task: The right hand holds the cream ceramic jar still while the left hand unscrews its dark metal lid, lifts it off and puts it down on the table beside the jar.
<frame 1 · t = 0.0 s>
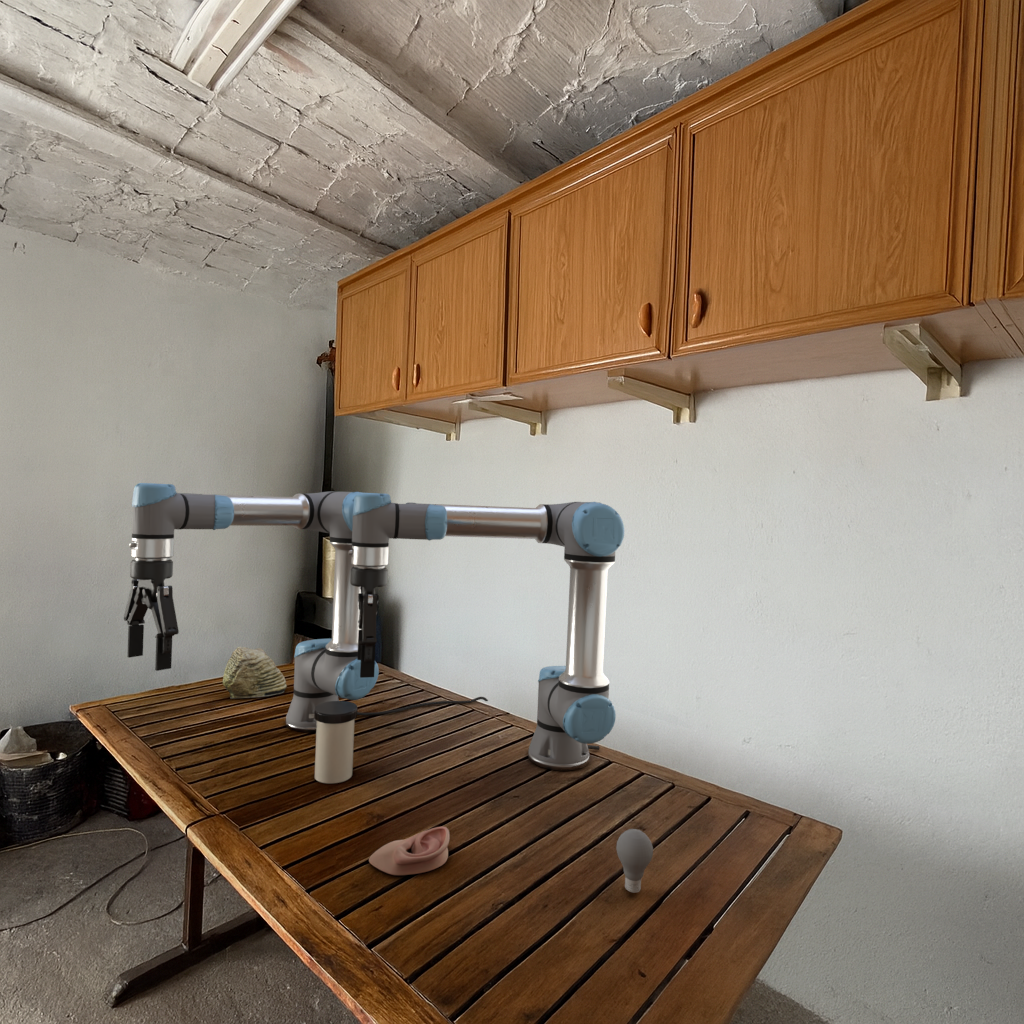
left hand: (148, 662, 129), 28 cm above the table, tool pointing down, fingers open, 13 cm apart
right hand: (365, 668, 132), 28 cm above the table, tool pointing down, fingers open, 13 cm apart
light bulb: (632, 891, 106), on the table
fossil: (254, 694, 198), on the table
jar: (333, 775, 144), on the table
lid: (336, 708, 144), point 15 cm above the table, screwed on, not yet turned
anatomical model: (409, 858, 112), on the table
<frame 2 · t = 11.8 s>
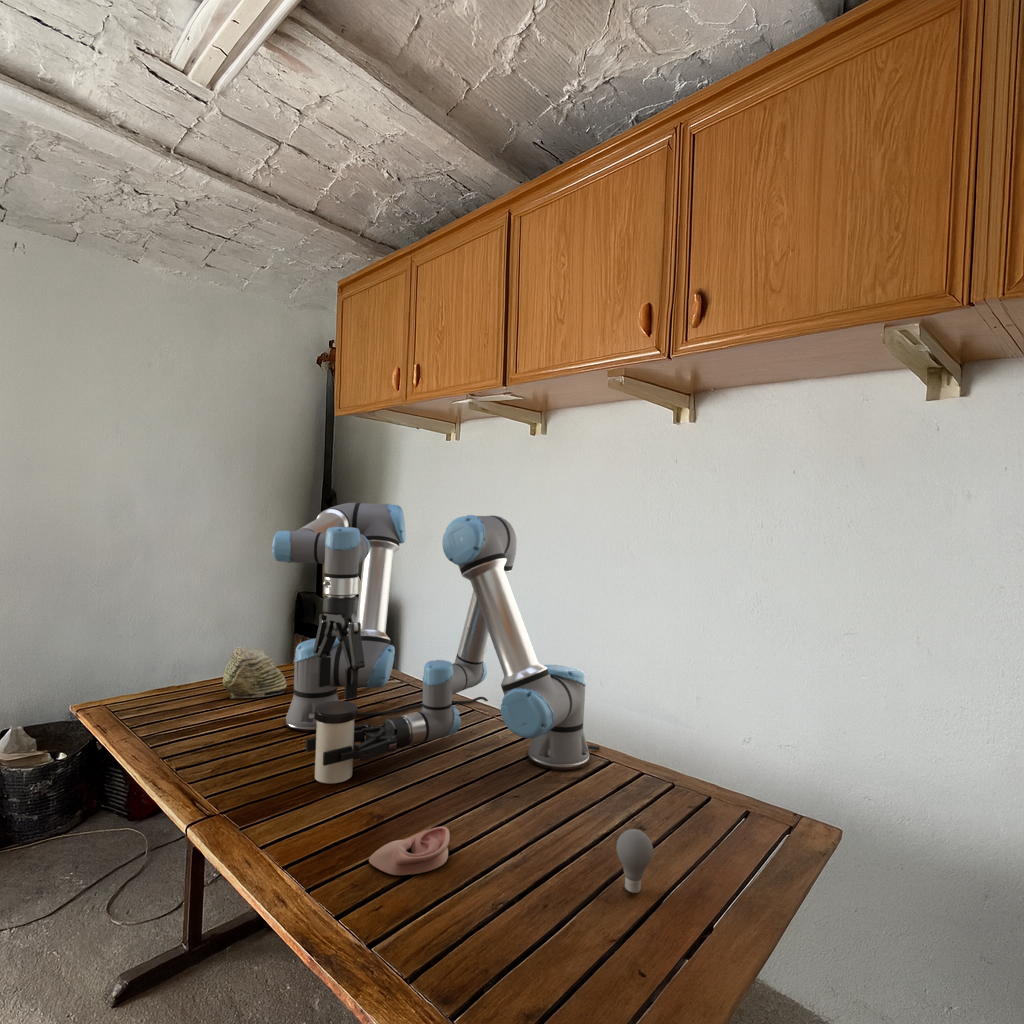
left hand: (336, 691, 144), 19 cm above the table, tool pointing down, fingers open, 11 cm apart
right hand: (315, 752, 141), 6 cm above the table, tool horizontal, fingers closed on jar, 8 cm apart
jar: (333, 775, 144), on the table, touching right hand
everything else where it was.
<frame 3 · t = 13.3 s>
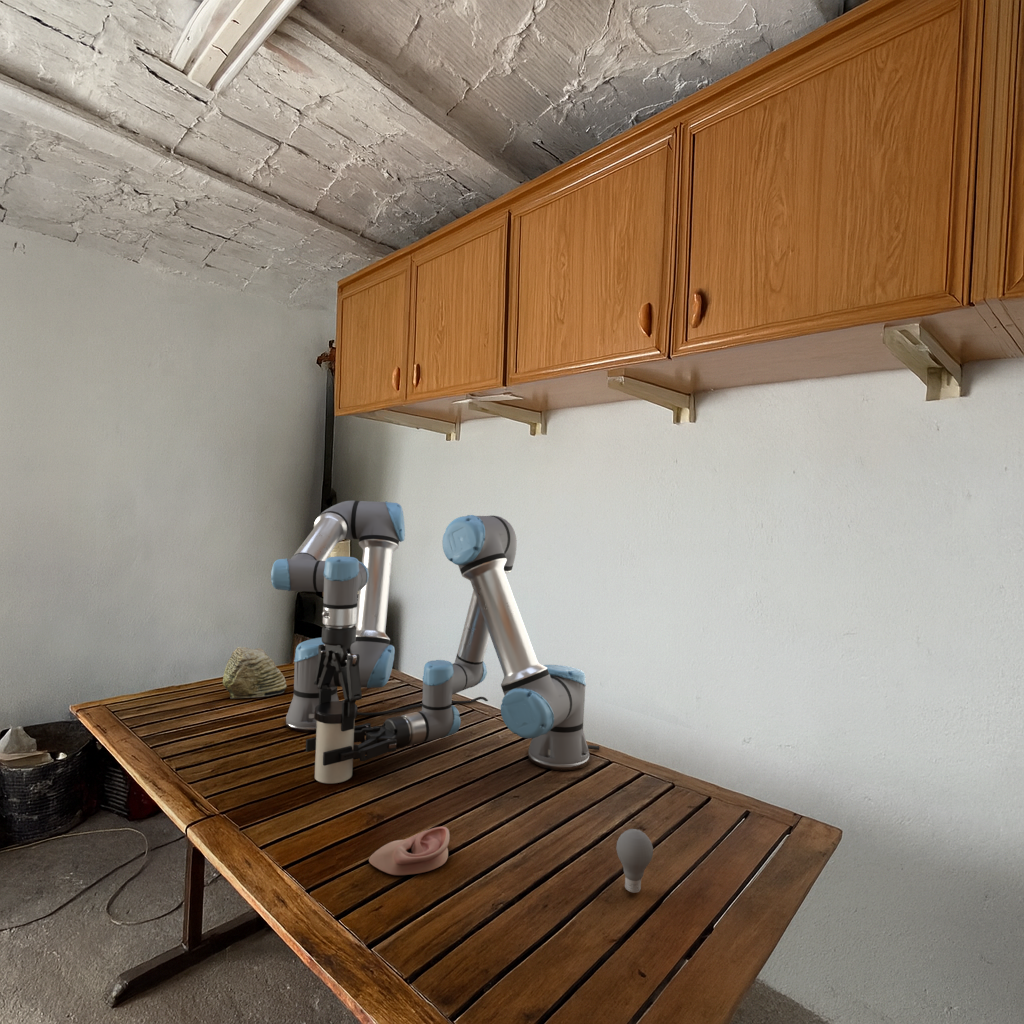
left hand: (335, 723, 144), 12 cm above the table, tool pointing down, fingers closed on lid, 9 cm apart
right hand: (315, 752, 141), 6 cm above the table, tool horizontal, fingers closed on jar, 8 cm apart
jar: (333, 775, 144), on the table, touching right hand
lid: (336, 708, 144), point 15 cm above the table, screwed on, not yet turned, touching left hand
everything else where it was.
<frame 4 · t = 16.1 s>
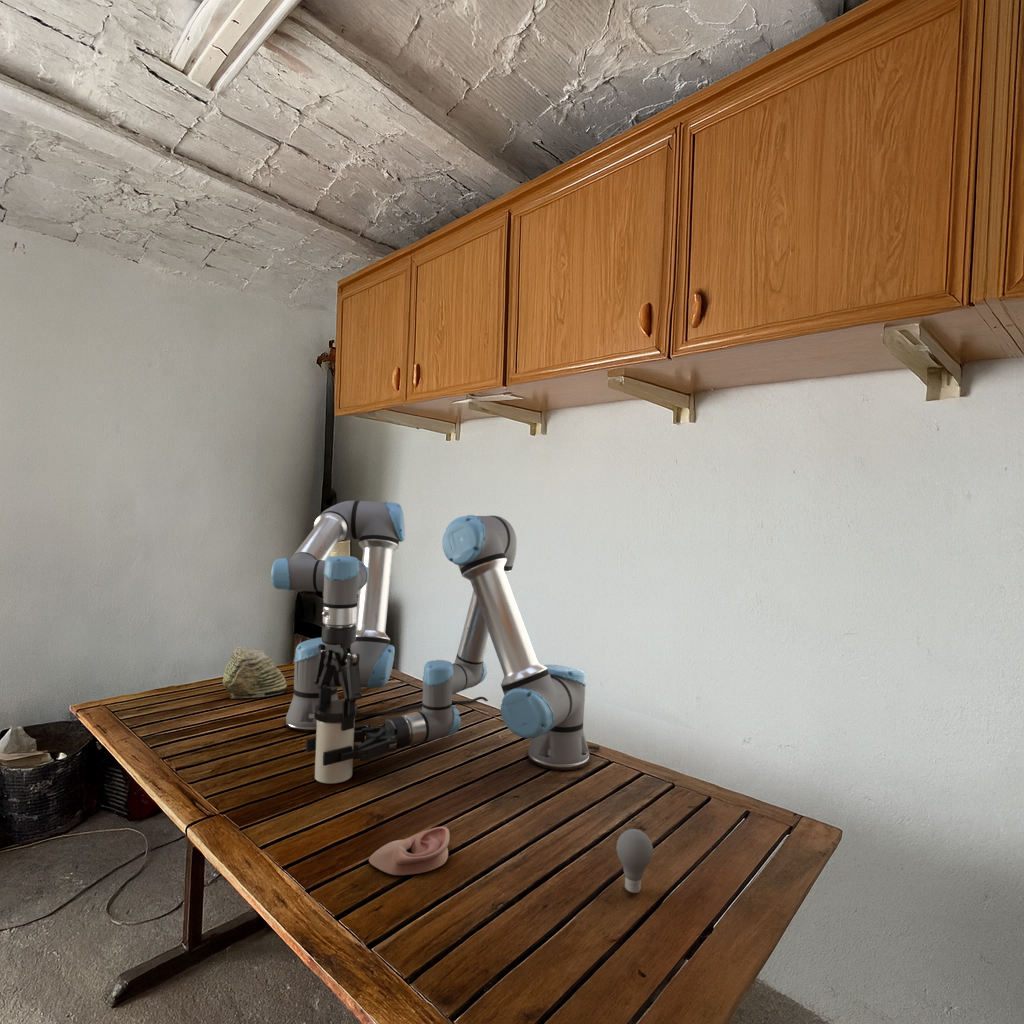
left hand: (335, 722, 144), 12 cm above the table, tool pointing down, fingers closed on lid, 9 cm apart
right hand: (315, 752, 141), 6 cm above the table, tool horizontal, fingers closed on jar, 8 cm apart
jar: (333, 775, 144), on the table, touching right hand
lid: (336, 708, 144), point 15 cm above the table, turned 64° so far, risen 0.2 cm, still on its thread, touching left hand
everything else where it was.
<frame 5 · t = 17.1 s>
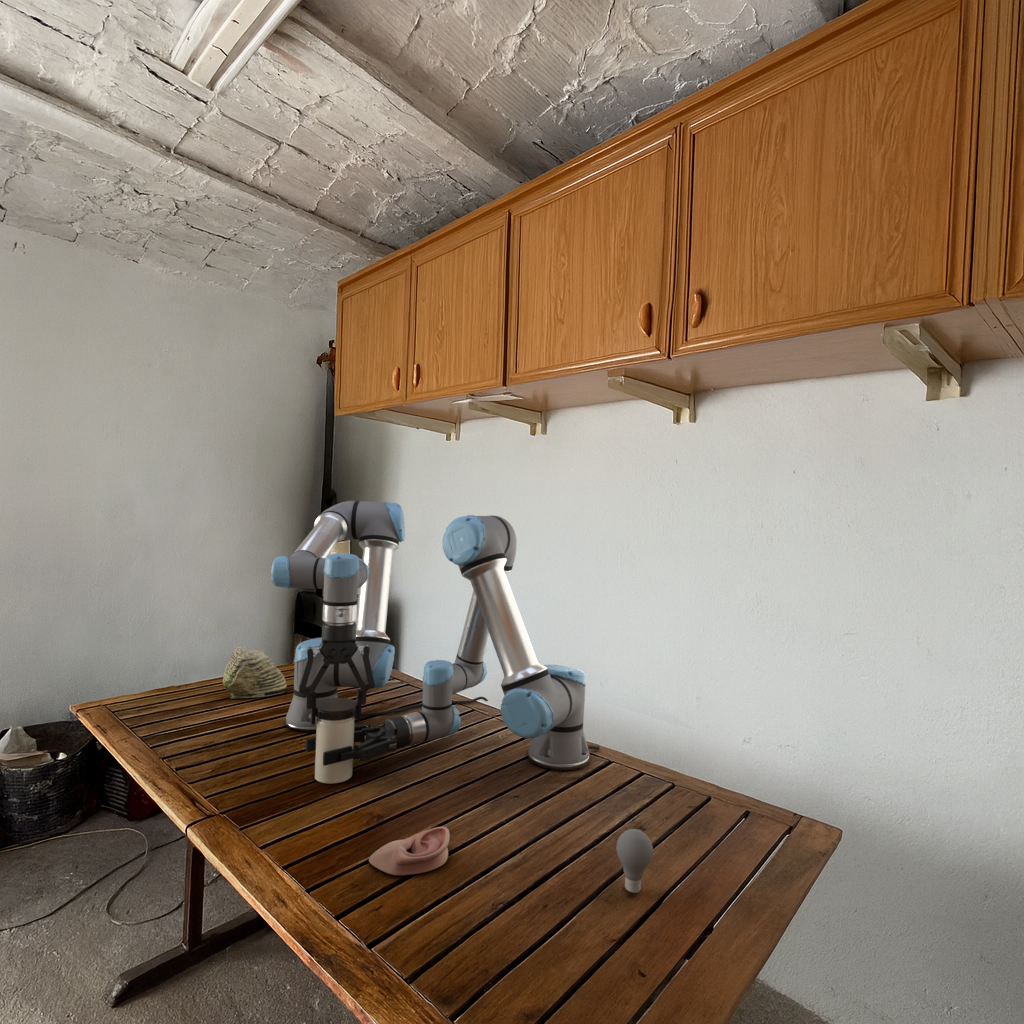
left hand: (335, 720, 144), 13 cm above the table, tool pointing down, fingers closed on lid, 9 cm apart
right hand: (315, 752, 141), 6 cm above the table, tool horizontal, fingers closed on jar, 8 cm apart
jar: (333, 775, 144), on the table, touching right hand
lid: (336, 705, 144), point 16 cm above the table, off its thread, touching left hand
everything else where it was.
when the left hand's fingers open (0 cm above the table, at t = 21.7 s): lid drops 2 cm, point 2 cm above the table.
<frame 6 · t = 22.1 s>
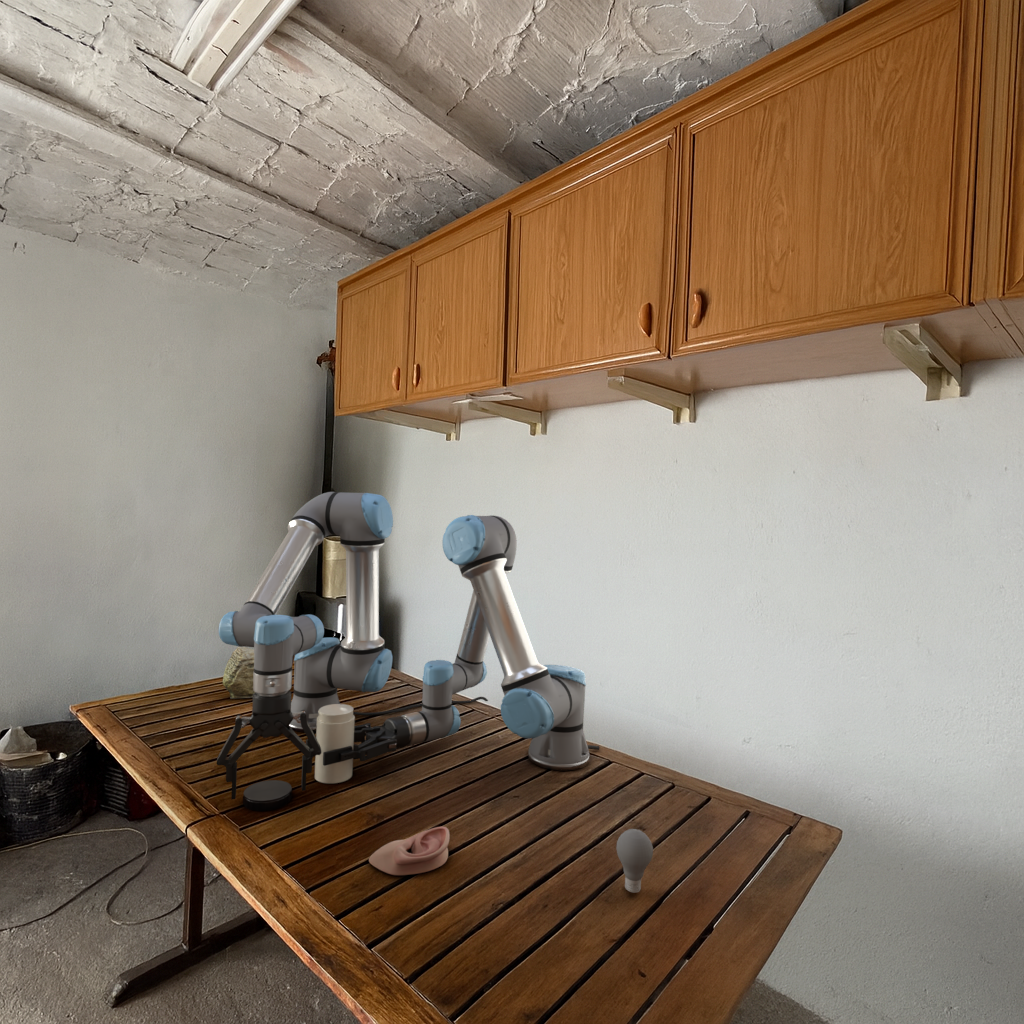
left hand: (269, 792, 132), 1 cm above the table, tool pointing down, fingers open, 13 cm apart
right hand: (315, 752, 141), 6 cm above the table, tool horizontal, fingers closed on jar, 8 cm apart
jar: (333, 775, 144), on the table, touching right hand
lid: (267, 791, 131), point 2 cm above the table, off its thread
everything else where it was.
when the right hand's fingers open (6 cm above the table, at t = 22.7 s): jar stays where it is, on the table.
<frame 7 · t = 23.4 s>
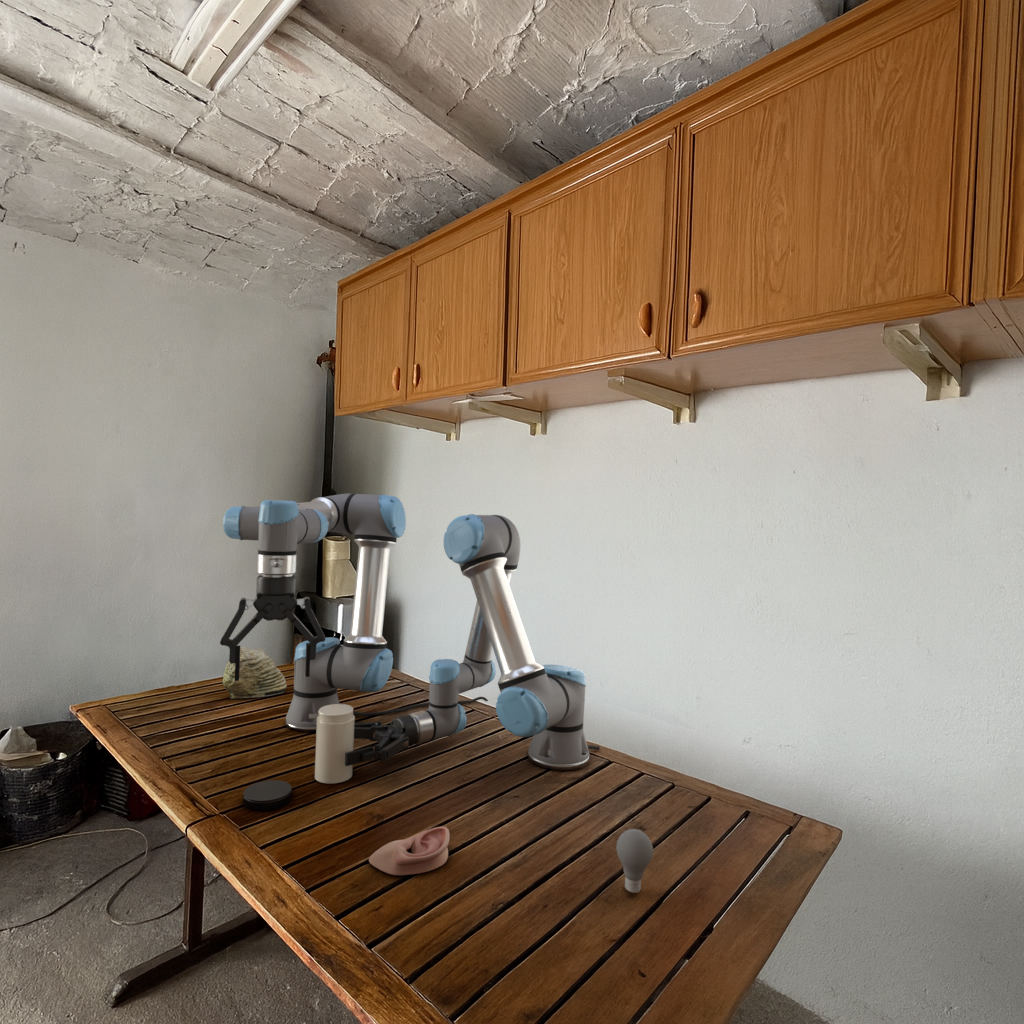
left hand: (272, 677, 131), 26 cm above the table, tool pointing down, fingers open, 13 cm apart
right hand: (331, 749, 143), 6 cm above the table, tool horizontal, fingers open, 13 cm apart
jar: (333, 775, 144), on the table
everything else where it was.
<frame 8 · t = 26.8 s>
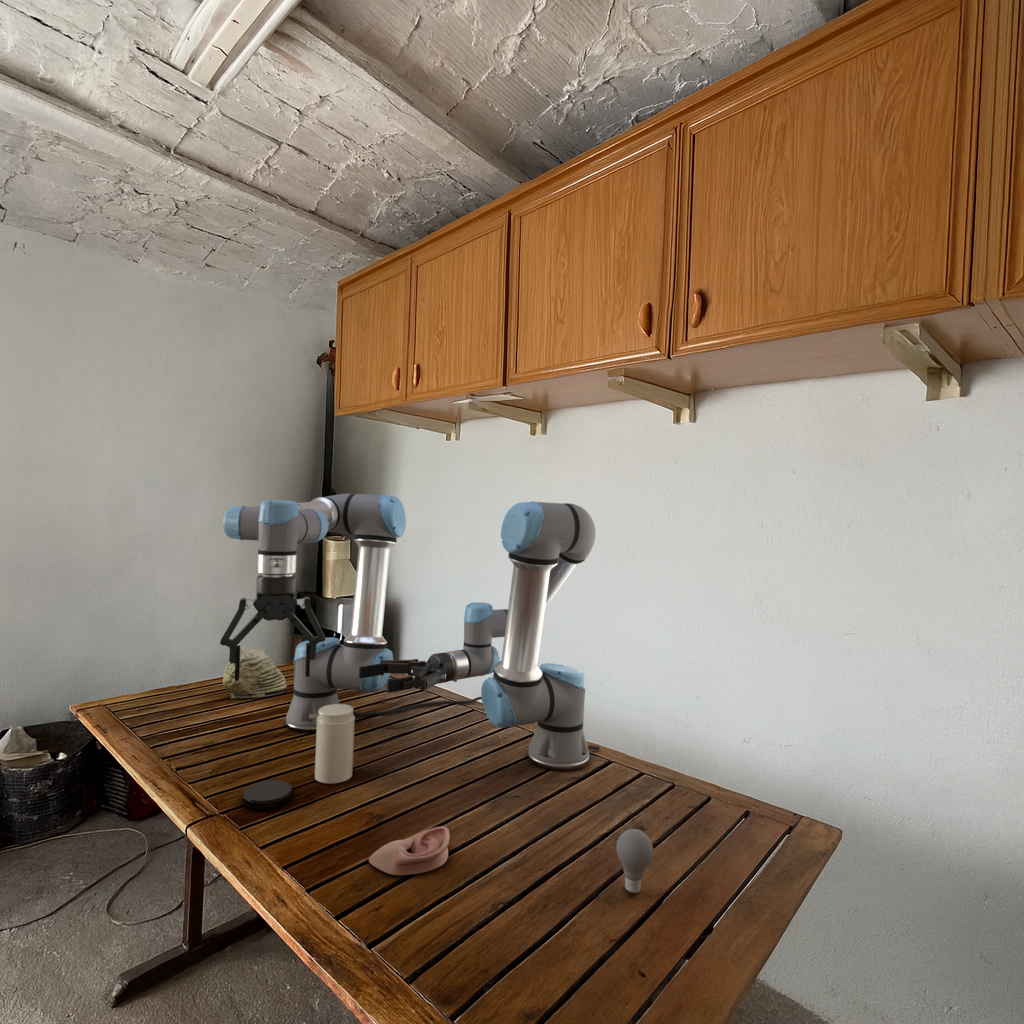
left hand: (272, 677, 131), 26 cm above the table, tool pointing down, fingers open, 13 cm apart
right hand: (373, 679, 150), 21 cm above the table, tool horizontal, fingers open, 13 cm apart
nothing on the table moved.
at the end: lid came off its thread; lid point 1.8 cm above the table; the left hand is holding nothing; the right hand is holding nothing; jar tilted 0°; jar moved 0.0 cm from its start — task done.
